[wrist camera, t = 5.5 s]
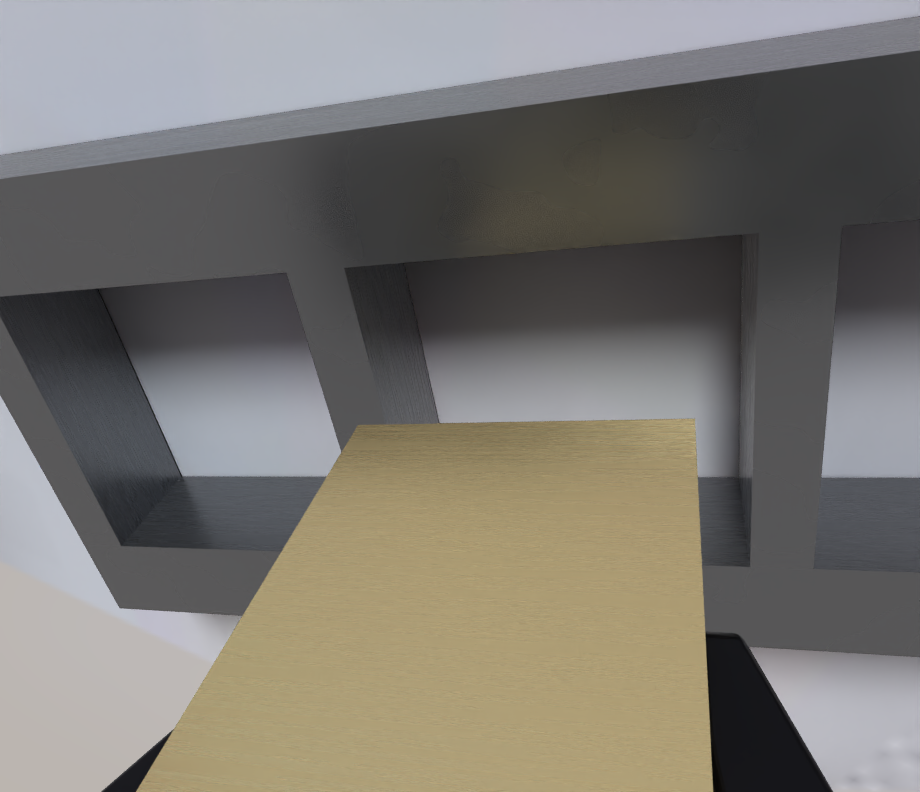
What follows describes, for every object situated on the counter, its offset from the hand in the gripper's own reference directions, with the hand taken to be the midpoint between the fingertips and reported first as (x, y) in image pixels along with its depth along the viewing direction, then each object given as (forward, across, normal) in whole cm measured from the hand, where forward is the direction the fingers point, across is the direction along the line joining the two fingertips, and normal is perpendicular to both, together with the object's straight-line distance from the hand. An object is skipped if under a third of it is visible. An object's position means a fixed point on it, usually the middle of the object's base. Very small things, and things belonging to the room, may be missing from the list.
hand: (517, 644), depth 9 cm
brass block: (+2, 0, 0) cm, 2 cm away
